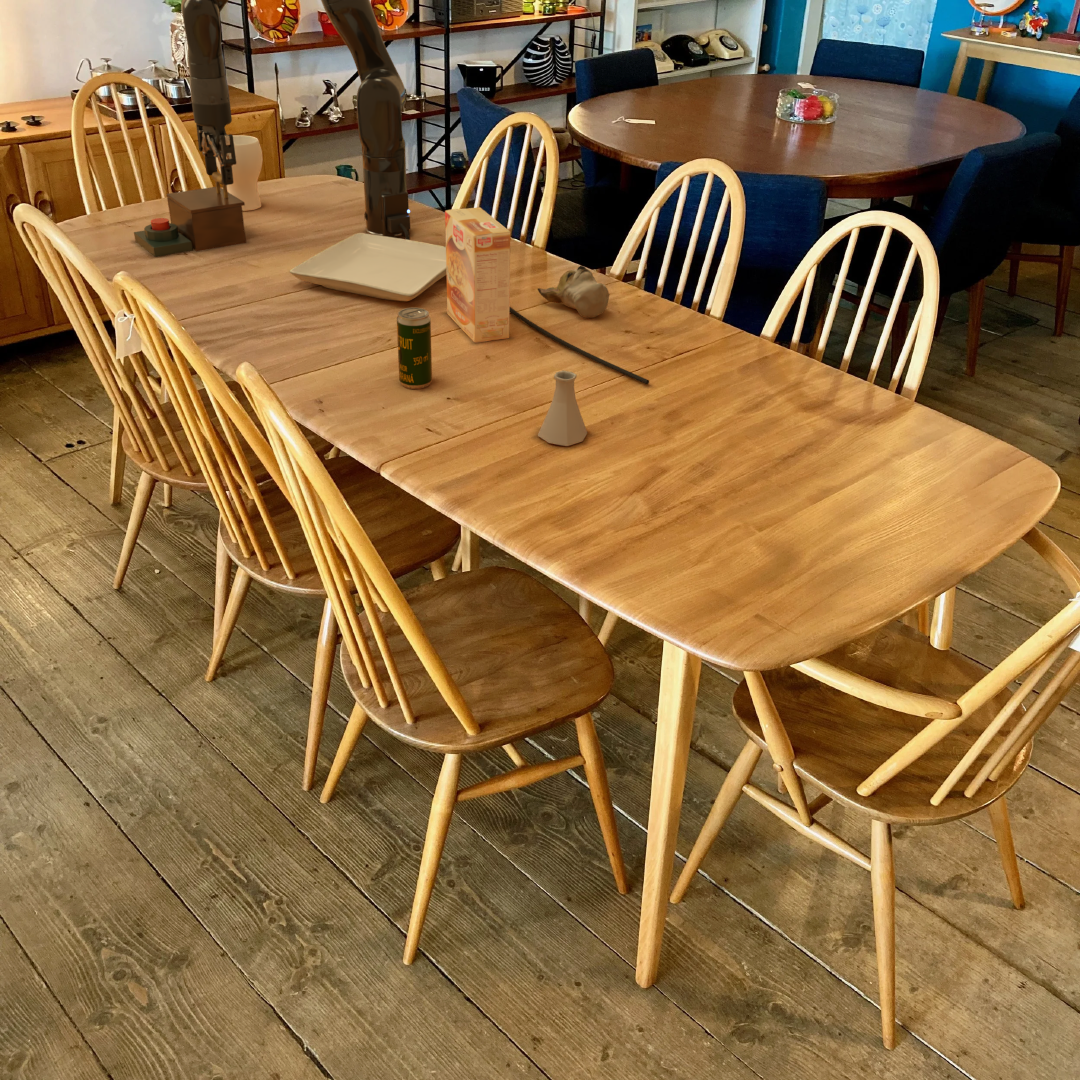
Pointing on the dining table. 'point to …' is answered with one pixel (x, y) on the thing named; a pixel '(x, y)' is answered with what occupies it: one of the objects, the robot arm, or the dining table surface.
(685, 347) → the dining table surface
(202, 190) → the chest lid
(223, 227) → the chest
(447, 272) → the coffeecake box
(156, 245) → the green button base
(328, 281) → the square plate
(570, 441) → the flask
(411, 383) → the green soda can
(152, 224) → the button
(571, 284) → the ceramic sculpture
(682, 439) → the dining table surface
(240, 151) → the cup
